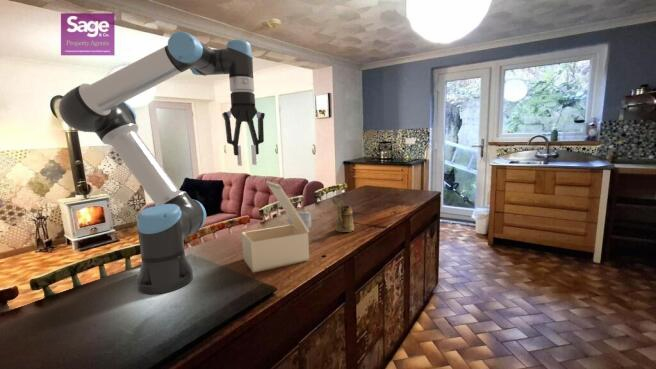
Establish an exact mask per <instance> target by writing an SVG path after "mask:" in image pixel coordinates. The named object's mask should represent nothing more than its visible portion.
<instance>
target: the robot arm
mask: <svg viewBox="0 0 656 369" xmlns="http://www.w3.org/2000/svg"><path fill="white" fill-rule="evenodd" d="M253 58H254V57H253V52H252V46H251V44H250V43H249V42H248V41H246V40H242V39H232V40H228V41H227V43H226V48H221V49H219V48H216V49H214V48H213V49H212V48H210V46H208V45H206V44H204V43H203V42H202V41H201V40H199V38H197V37H196V36H194V35H193V34H190V33H188V32H186V31H183V30H182V31H175V32H173V33H172V34H171V35H170V37H169V38H168V40H167V45H165V46H163V47H161V48H159V49H157V50H155V51H153V52H151V53H149V54H147V55H145V56H144V57H141V58H140V59H138V60H136V61H134V62H132V63H130V64H128V65H126V66H124V67H122V68H120V69H119V70H116V71H114V72H113V73H111V74H109V75H107V76H104V77H103V78H101V79H99V80H97V81H95V82H93V83H91V84H90V83H86V82H85V83H82V84H80V85H78V86H76V87H73V88H72V89H70V90H69V91H68V92H66V94H64V95H63V96H62V98H61V99H60V101H59V105H58V112H59V115H60V118H61V119H62V120H63V122H64V123H65V124H66V125H67V126H69V127H70V128H71V129H74V130H76V131H78V132H83V133H94V134H96V135H97V137H98V138H99V139H100V141H101V142H102V144H104V145H108V146H112V148H113V149H114V151H115V153H117V155H118V157H119V158H121V161H123V163H124V164H125V166H126V167H127V169H128V170H129V171H130V172H131V174H132V175H133V176H134V178H135V179H136V181H137V182H138V183H139V185H140V186H141V187H142V188H143V190H144V191H145V193H146V194H147V195H148V196H149V198H150V200H152V202H153V203H154V206H150V207H147V208H144V209H142V210H141V211H140V212H139V213H138V215H137V217H136V229H137V234H138V242H139V249H140V256H141V257H140V259H141V265H140V269H139V272H138V276H137V282H136V283H137V284H136V285H137V290H138V292H140V293H142V294H144V295H145V294H146V295H147V294H148V295H156V294H164V293H169V292H172V291H176V290H178V288H179V289H182V288H183V287H185V286H186V285H189V284H190V283H191V282H192V281H193V279H194V272H193V268H192V266H191V264H190V262H189V260H188V257H187V256H186V252H185V243H184V240H186V239H187V238H189V237H190V236H192V235H194V234H196V233H197V232H198V231H200V230H201V229H202V227H203V226H204V225H205V223H206V220H207V212H206V209H205V207H204V205H203V203H201V202H200V201H198V200H196V199H192V198H191V197H190V195H189V194H188V192H187V191H183V190H180V189H179V188H178V187H177V185H176V184H175V183H174V181H173V180H172V179H171V177H170V175H168V173H167V172H166V170H165V169H164V168H163V167H162V165H161V164H160V162H159V161H158V159H156V157H155V155H154V154H153V153H152V151H151V150H150V149H149V147H148V146H147V144H146V143H145V142H144V140H143V139H142V138H141V136H140V135H139V133H138V131H139V125H138V124H137V121H136V119H137V115H136V113H135V111H134V109H133V107H131V105H129V104H128V103H127V102H126V101H128V100H130V99H133V98H134V97H137V96H138V95H140V94H142V93H145V92H147V91H148V90H150V89H152V88H154V87H156V86H157V85H160V84H162V83H163V82H165V81H168V80H169V79H171V78H174V77H175V76H177V75H179V74H181V73H183V72H186V71H188V70H190V71H191V73H192V74H193V75H195V76H204V77H206V76H214V75H215V76H216V75H219V76H220V75H229V76H228V77H229V78H228V79H229V91H230V105H231V107H230V109H229V110H228V111H224V112H222V117H223V119H224V126H225V135H226V143H227V144H230V145H232V147H233V155H234V156H236V158H237V166H238V167H239V166H240V167H242V165H243V162H242V146H241V145H239V139H240V132H241V127H242V123H243V122H244V123H247V124H246V125H247V126H248V129H249V133H250V137H251V139H252V141H251V142H252V144H251V164H252V165H253V166H257V165H258V164H257V155H259V153H260V150H259V149H260V148H259V145H260V144H263V143H264V141H265V138H264V137H265V136H264V119H265V116H266V113H265V112H260V111H258V109H257V108H256V97H255V96H256V95H255V93H254V92H255V82H254V65H253V64H254V61H253ZM231 115H232V116H231ZM231 117H233V118H234V119H235V122H234V123H235V126H234V133H233V136H232V128H231V126H232V125H231V119H230V118H231ZM255 117H256V118H257V132H256V127H255V124H254V118H255ZM191 280H192V281H191ZM190 281H191V282H190ZM189 282H190V283H189Z"/></svg>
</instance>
